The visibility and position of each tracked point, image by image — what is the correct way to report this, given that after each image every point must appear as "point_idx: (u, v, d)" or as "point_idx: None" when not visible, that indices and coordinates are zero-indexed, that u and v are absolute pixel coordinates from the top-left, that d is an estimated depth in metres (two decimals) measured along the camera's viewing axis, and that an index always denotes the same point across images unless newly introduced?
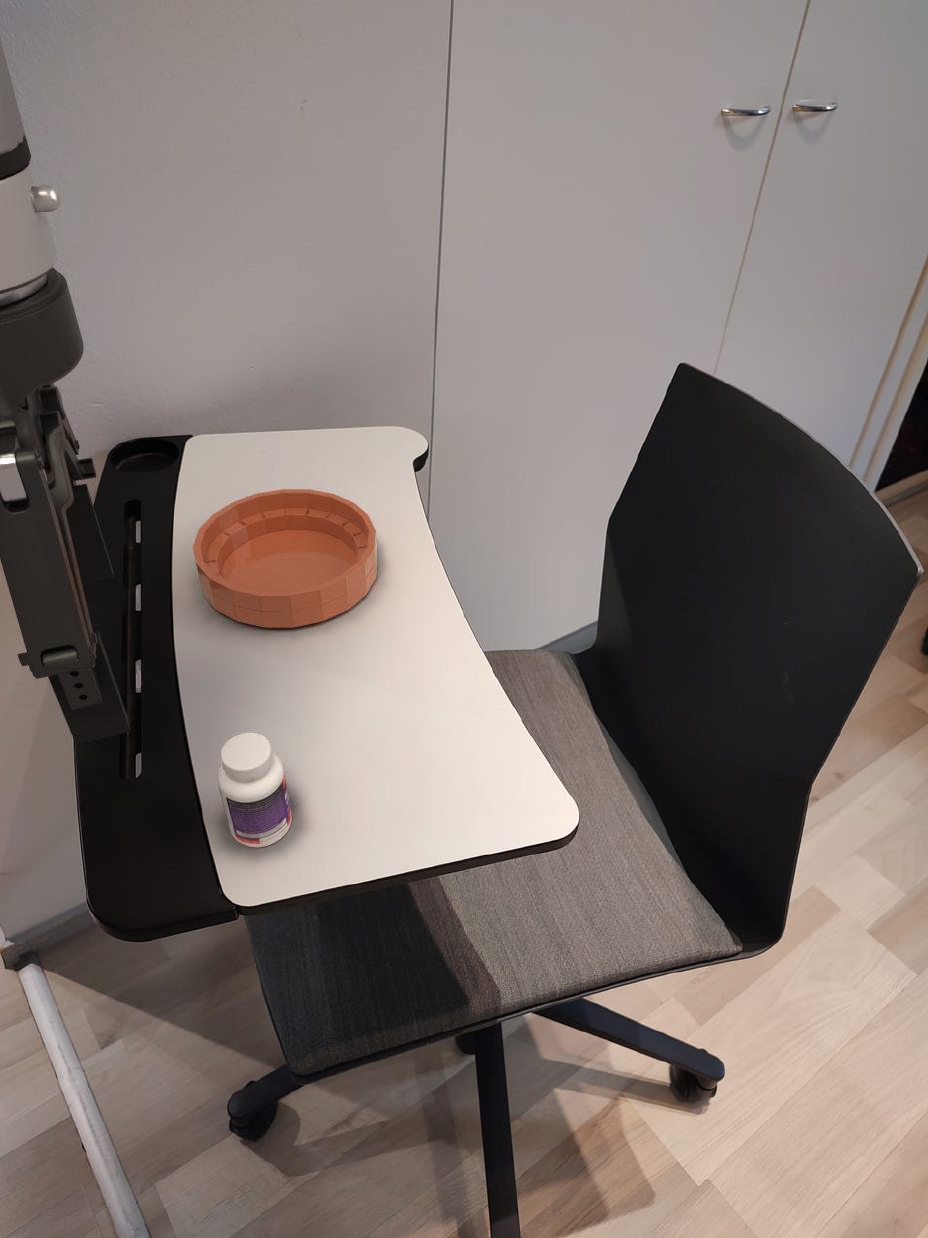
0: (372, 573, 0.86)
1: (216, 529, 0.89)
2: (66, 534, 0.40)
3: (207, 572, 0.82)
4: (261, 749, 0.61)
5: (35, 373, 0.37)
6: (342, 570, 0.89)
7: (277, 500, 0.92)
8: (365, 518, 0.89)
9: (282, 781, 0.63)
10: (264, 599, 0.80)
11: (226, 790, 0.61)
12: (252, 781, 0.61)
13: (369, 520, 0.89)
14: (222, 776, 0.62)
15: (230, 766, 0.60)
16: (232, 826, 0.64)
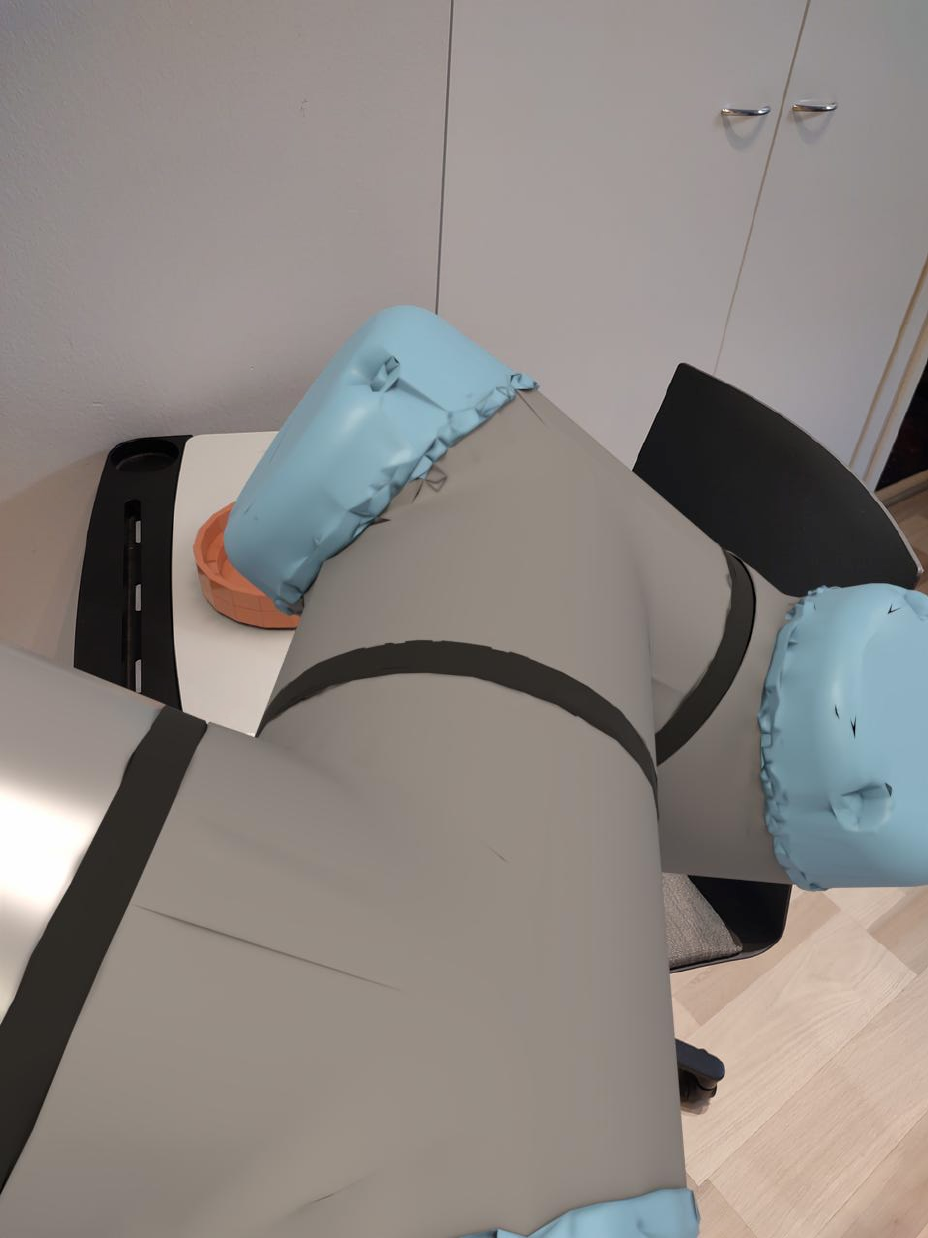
0: None
1: (216, 529, 0.89)
2: None
3: (207, 572, 0.82)
4: None
5: None
6: None
7: None
8: None
9: None
10: (264, 599, 0.80)
11: None
12: None
13: None
14: None
15: None
16: None
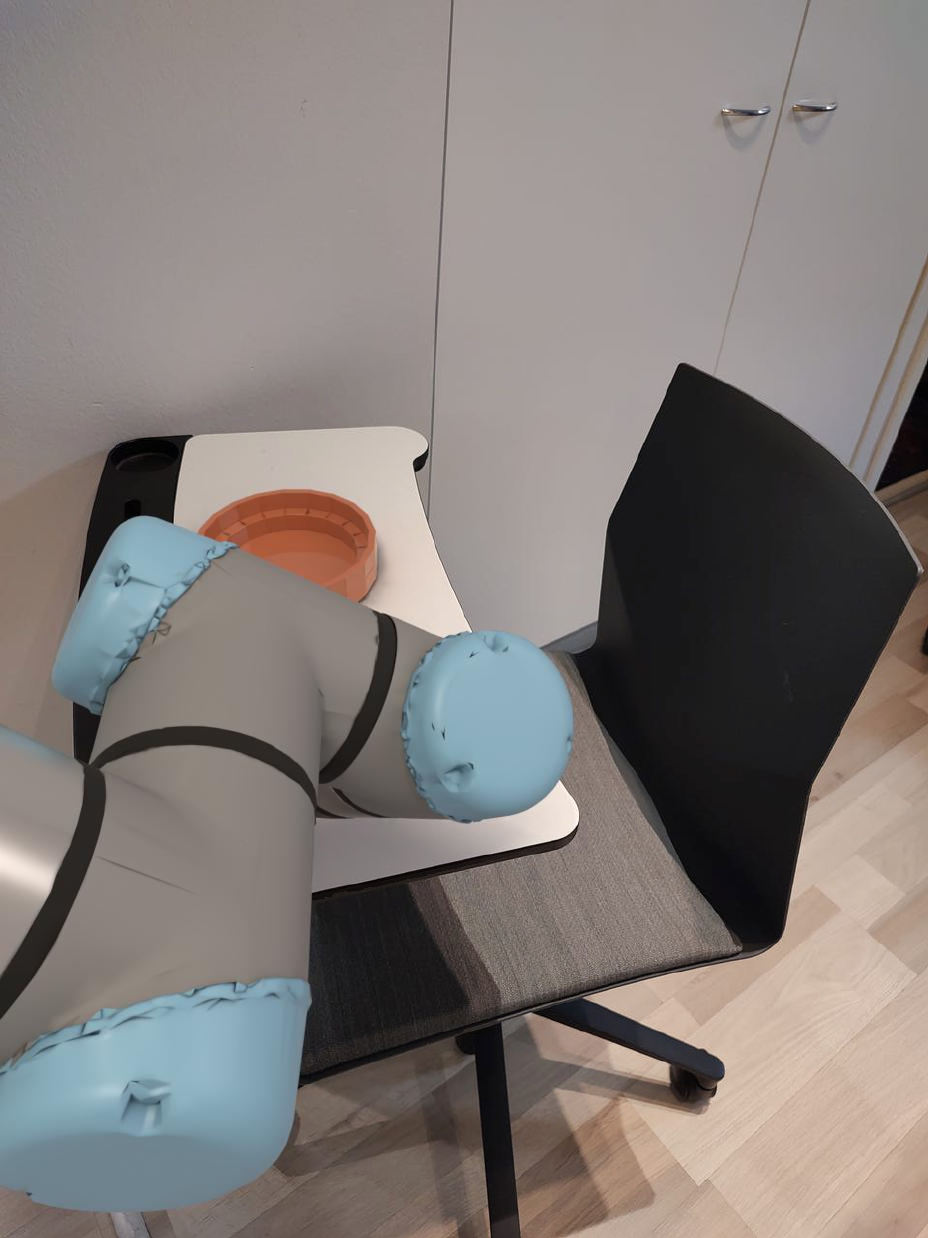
0: (372, 573, 0.86)
1: (216, 529, 0.89)
2: None
3: None
4: None
5: None
6: (342, 570, 0.89)
7: (277, 500, 0.92)
8: (365, 518, 0.89)
9: None
10: None
11: None
12: None
13: (369, 520, 0.89)
14: None
15: None
16: None
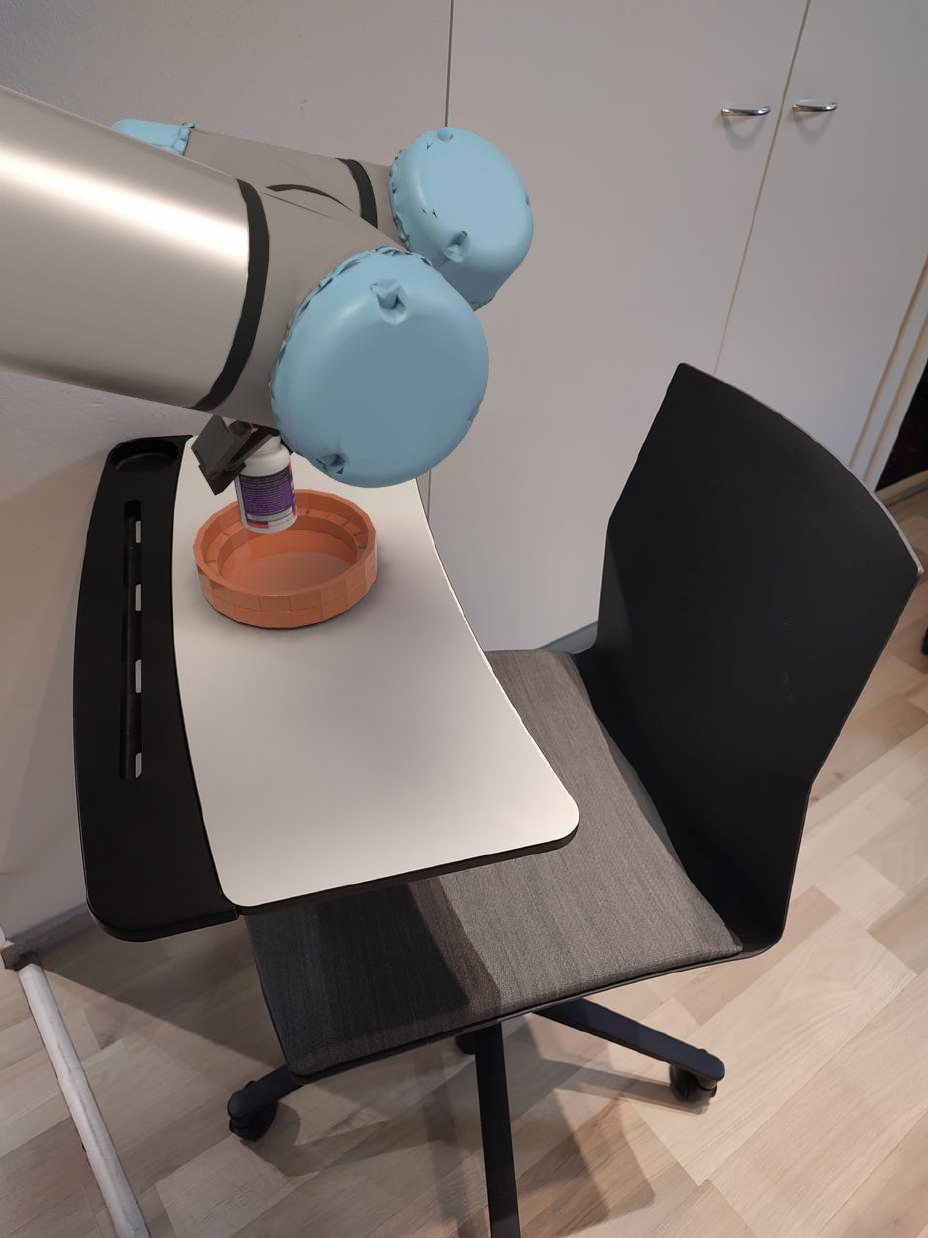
0: (372, 573, 0.86)
1: (216, 529, 0.89)
2: (260, 440, 0.62)
3: (207, 572, 0.82)
4: None
5: None
6: (342, 570, 0.89)
7: None
8: (365, 518, 0.89)
9: (289, 465, 0.70)
10: (264, 599, 0.80)
11: None
12: (262, 456, 0.68)
13: (369, 520, 0.89)
14: None
15: None
16: (243, 510, 0.71)
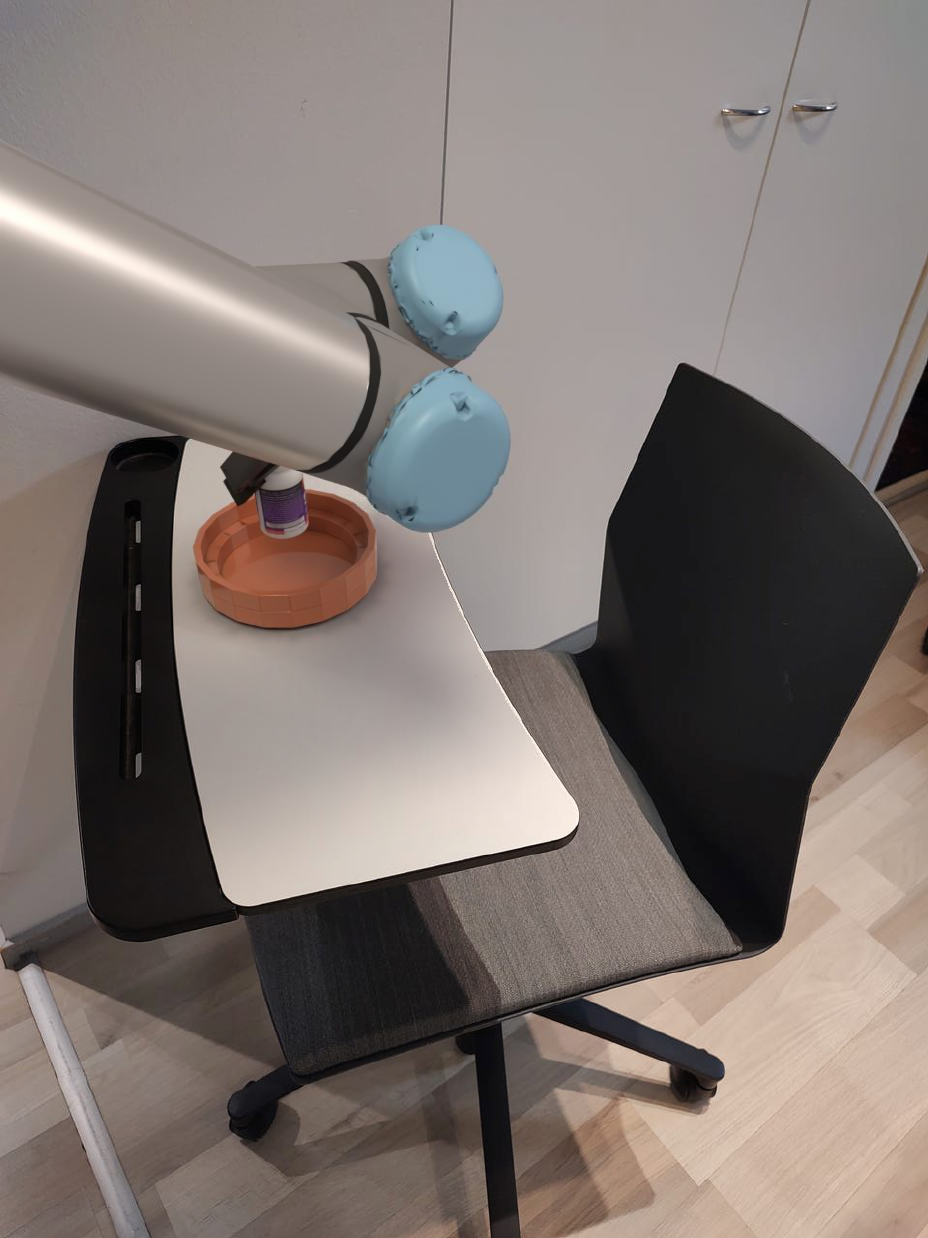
0: (372, 573, 0.86)
1: (216, 529, 0.89)
2: None
3: (207, 572, 0.82)
4: None
5: None
6: (342, 570, 0.89)
7: None
8: (365, 518, 0.89)
9: (302, 480, 0.81)
10: (264, 599, 0.80)
11: None
12: (279, 473, 0.79)
13: (369, 520, 0.89)
14: None
15: None
16: (263, 519, 0.82)
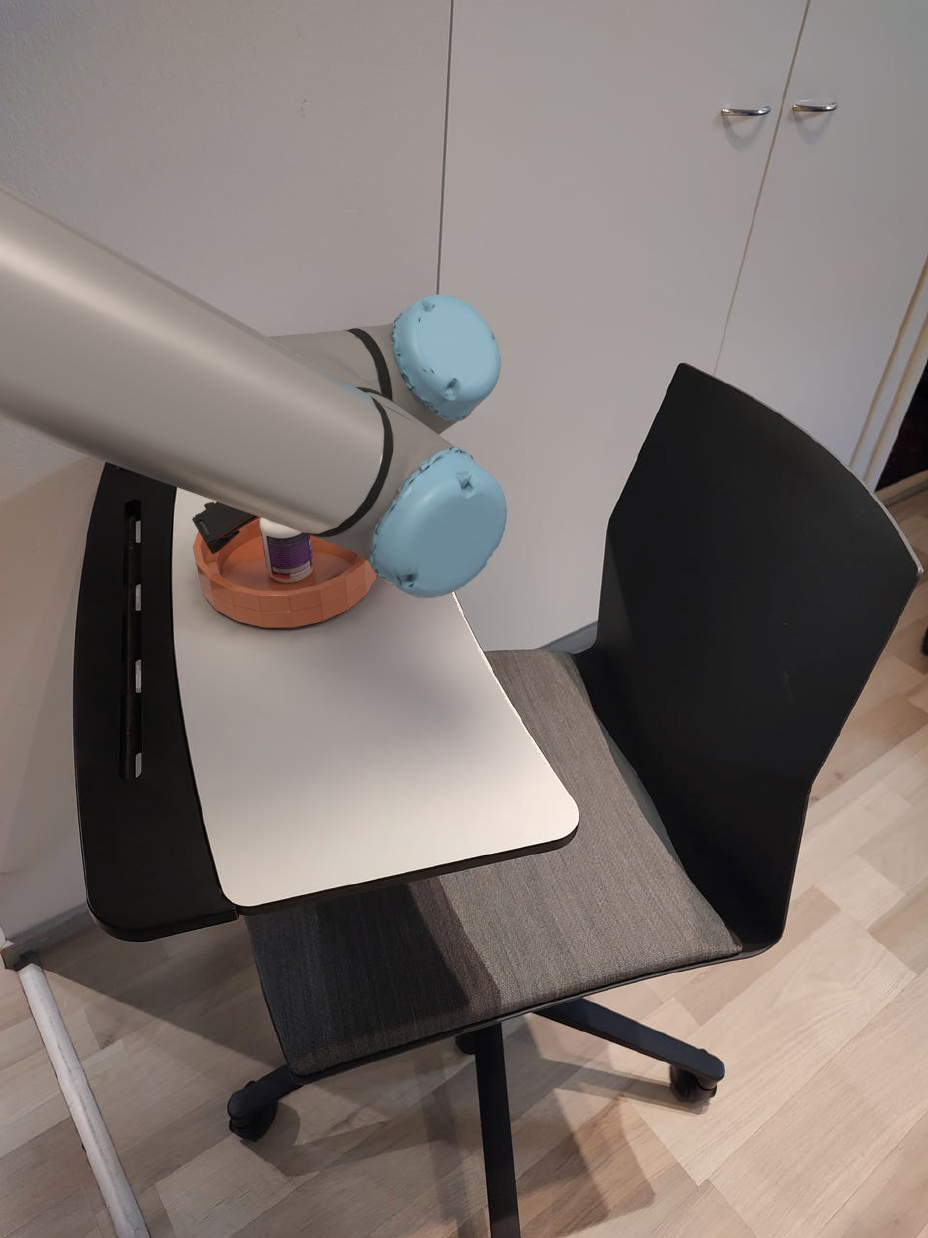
0: (372, 573, 0.86)
1: None
2: None
3: (207, 572, 0.82)
4: None
5: None
6: (342, 570, 0.89)
7: None
8: None
9: None
10: (264, 599, 0.80)
11: (266, 529, 0.83)
12: None
13: None
14: (263, 521, 0.84)
15: None
16: (269, 564, 0.86)
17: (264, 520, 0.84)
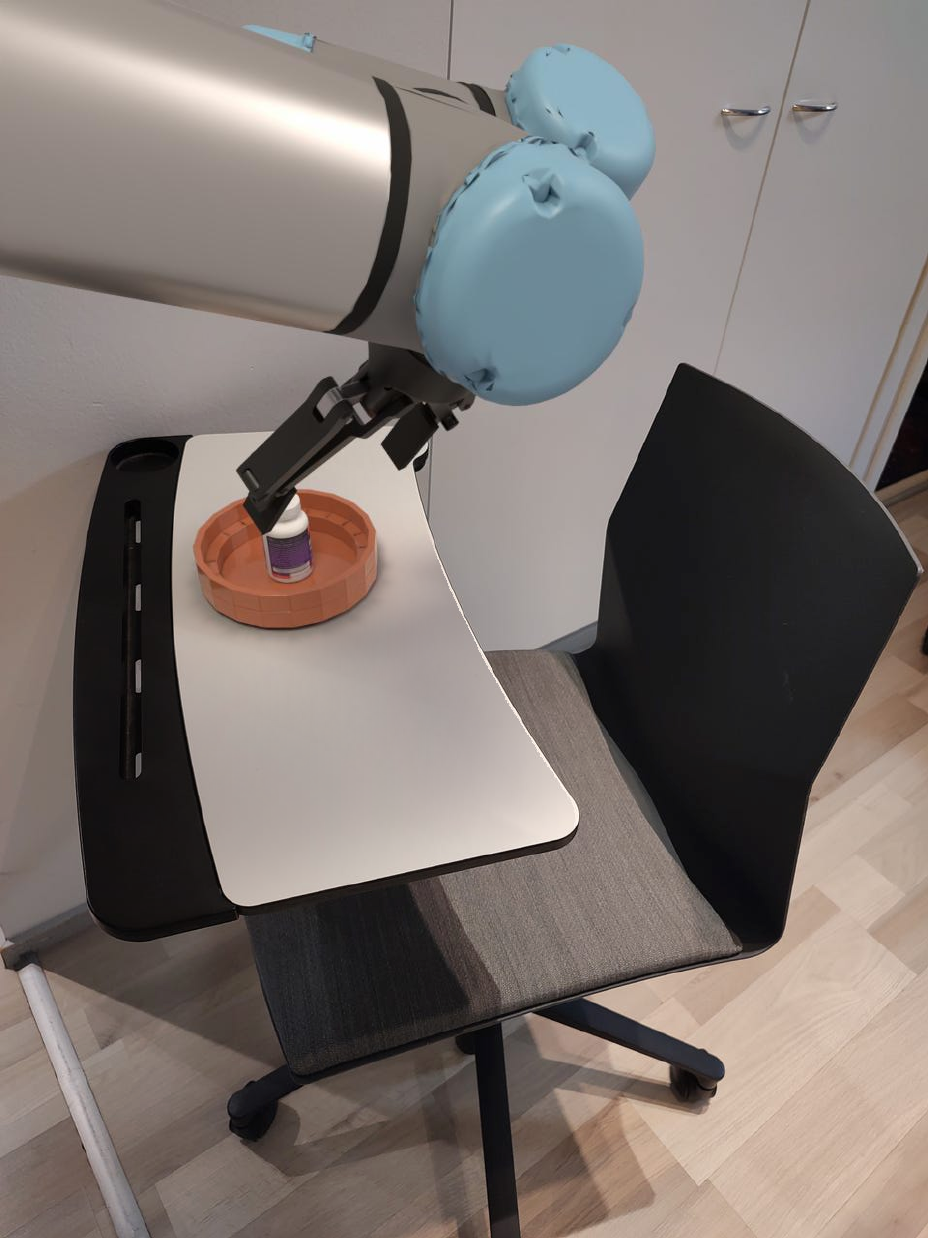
0: (372, 573, 0.86)
1: (216, 529, 0.89)
2: (336, 446, 0.57)
3: (207, 572, 0.82)
4: (292, 499, 0.83)
5: (404, 386, 0.52)
6: (342, 570, 0.89)
7: None
8: (365, 518, 0.89)
9: (307, 527, 0.85)
10: (264, 599, 0.80)
11: None
12: (286, 522, 0.83)
13: (369, 520, 0.89)
14: None
15: None
16: (269, 564, 0.86)
17: None
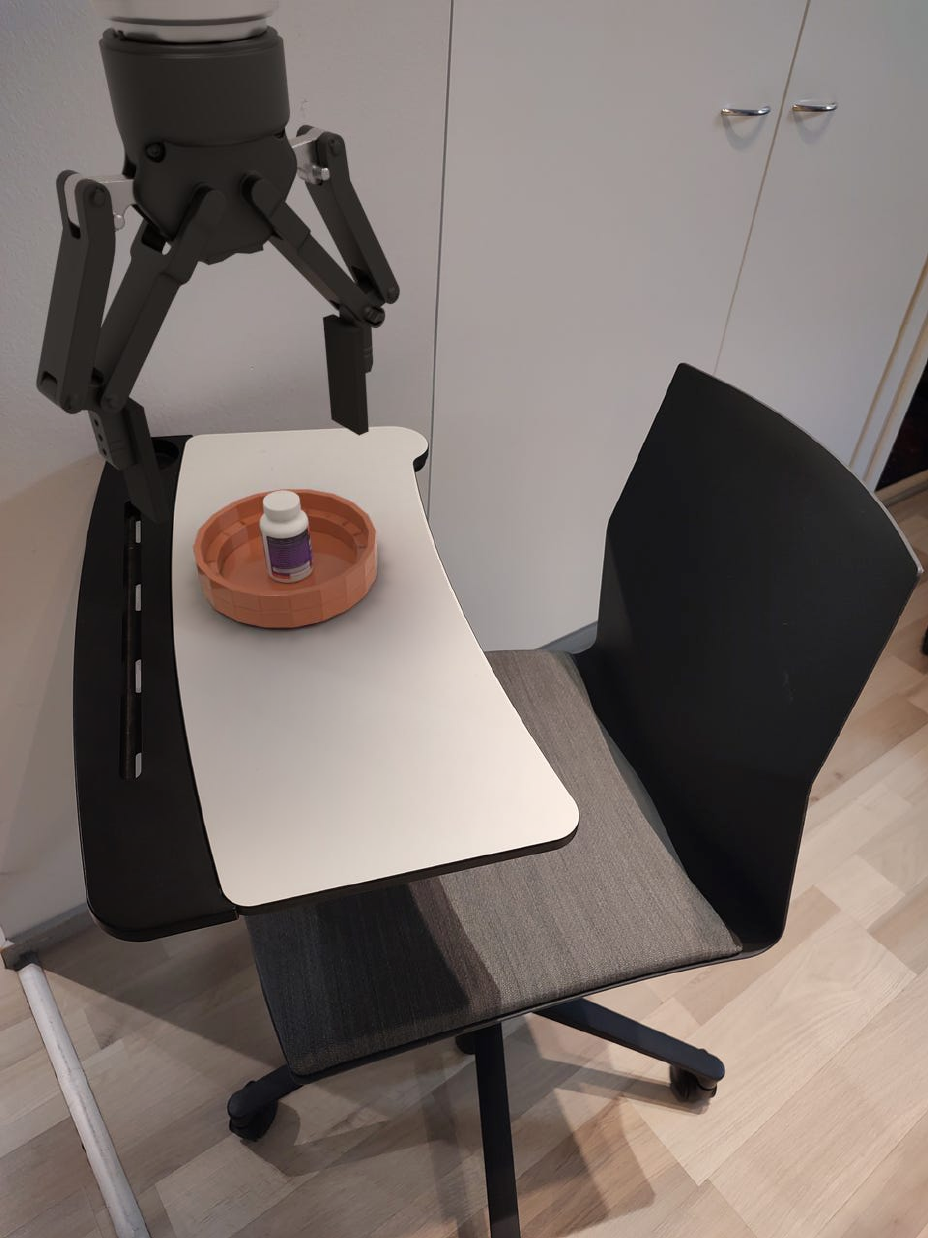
0: (372, 573, 0.86)
1: (216, 529, 0.89)
2: (147, 299, 0.40)
3: (207, 572, 0.82)
4: (292, 499, 0.83)
5: (156, 123, 0.36)
6: (342, 570, 0.89)
7: None
8: (365, 518, 0.89)
9: (307, 527, 0.85)
10: (264, 599, 0.80)
11: (266, 529, 0.83)
12: (286, 522, 0.83)
13: (369, 520, 0.89)
14: (263, 521, 0.84)
15: (270, 507, 0.82)
16: (269, 564, 0.86)
17: (264, 520, 0.84)
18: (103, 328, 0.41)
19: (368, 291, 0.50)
